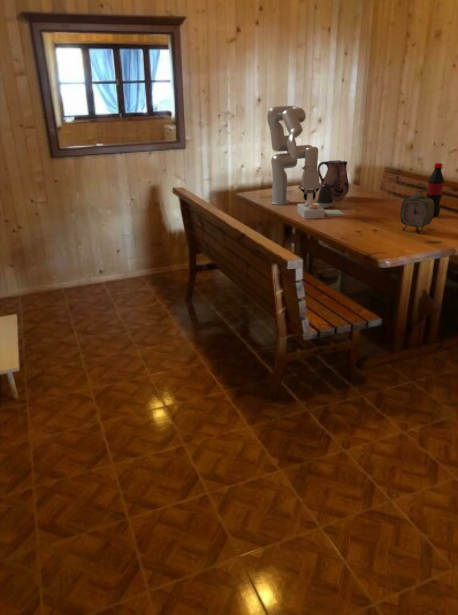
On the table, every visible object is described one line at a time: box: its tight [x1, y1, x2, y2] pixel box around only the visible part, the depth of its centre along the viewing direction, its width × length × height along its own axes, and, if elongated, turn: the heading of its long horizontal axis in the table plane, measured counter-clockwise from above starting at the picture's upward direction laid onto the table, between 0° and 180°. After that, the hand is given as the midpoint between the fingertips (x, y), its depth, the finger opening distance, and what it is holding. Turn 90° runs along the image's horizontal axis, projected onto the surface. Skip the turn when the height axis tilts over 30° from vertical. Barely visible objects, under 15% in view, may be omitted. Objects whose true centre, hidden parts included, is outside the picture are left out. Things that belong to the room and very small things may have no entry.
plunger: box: [309, 205, 317, 209], centre depth 299 cm, size 5×5×6 cm
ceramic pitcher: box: [317, 159, 350, 201], centre depth 337 cm, size 18×21×25 cm
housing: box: [297, 202, 326, 220], centre depth 304 cm, size 18×12×5 cm, turn 6°
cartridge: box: [305, 189, 314, 207], centre depth 305 cm, size 4×4×12 cm
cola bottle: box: [425, 162, 445, 218], centre depth 289 cm, size 8×8×30 cm
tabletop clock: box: [399, 182, 434, 235], centre depth 262 cm, size 14×9×25 cm, turn 45°
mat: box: [324, 209, 345, 217], centre depth 306 cm, size 12×10×1 cm
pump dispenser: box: [316, 183, 335, 209], centre depth 319 cm, size 10×10×15 cm
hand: (309, 199), depth 305 cm, fingers closed on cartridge, 4 cm apart
